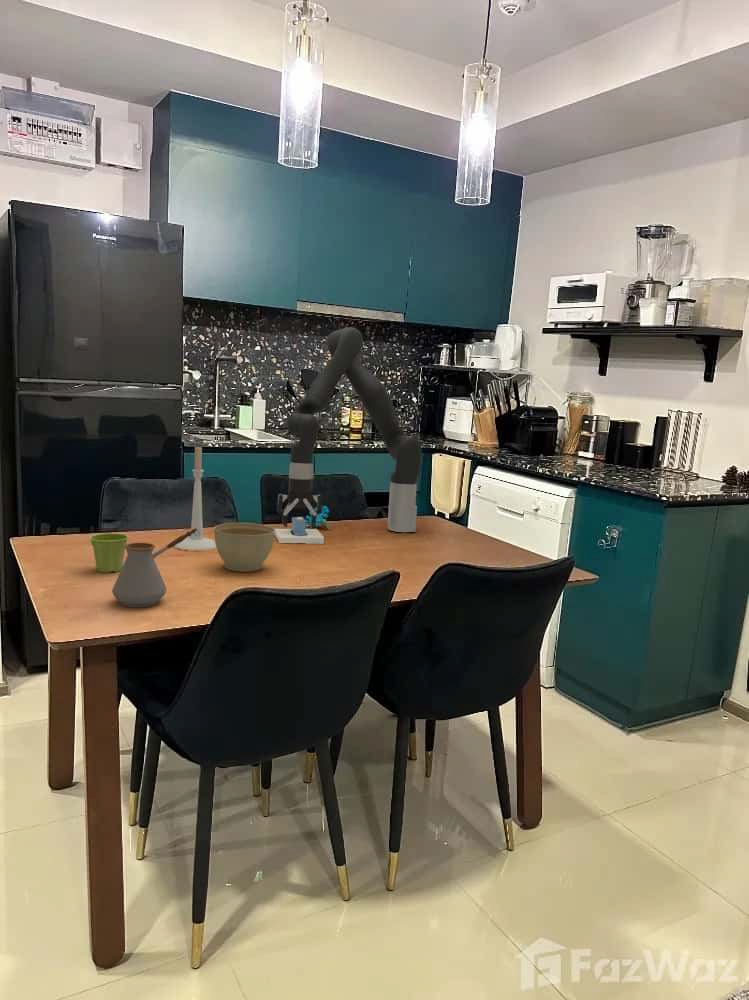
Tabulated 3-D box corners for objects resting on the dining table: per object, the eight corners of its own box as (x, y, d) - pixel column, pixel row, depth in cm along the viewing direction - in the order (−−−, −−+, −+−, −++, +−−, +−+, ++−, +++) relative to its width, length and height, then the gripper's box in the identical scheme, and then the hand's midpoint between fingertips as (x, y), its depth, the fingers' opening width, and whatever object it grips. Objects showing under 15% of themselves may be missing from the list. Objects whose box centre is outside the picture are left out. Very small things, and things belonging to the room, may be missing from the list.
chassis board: (316, 535, 244) (316, 529, 244) (323, 543, 232) (323, 537, 231) (274, 534, 240) (274, 528, 240) (279, 543, 228) (279, 537, 228)
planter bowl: (248, 579, 186) (249, 537, 185) (200, 568, 194) (200, 528, 192) (285, 567, 200) (287, 528, 199) (239, 557, 208) (240, 520, 206)
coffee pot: (130, 613, 155) (131, 544, 153) (101, 601, 162) (101, 534, 160) (212, 595, 172) (213, 532, 169) (182, 584, 179) (183, 524, 176)
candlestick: (217, 542, 226) (219, 444, 221) (219, 551, 214) (222, 448, 209) (174, 542, 222) (175, 443, 218) (174, 552, 210) (175, 447, 205)
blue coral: (299, 520, 259) (319, 500, 260) (308, 530, 262) (328, 511, 264) (311, 530, 250) (332, 510, 251) (321, 541, 253) (342, 521, 254)
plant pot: (82, 572, 184) (82, 538, 182) (101, 564, 193) (101, 531, 191) (117, 576, 182) (117, 542, 181) (134, 567, 192) (135, 534, 190)
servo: (301, 535, 241) (302, 514, 240) (305, 542, 233) (306, 519, 231) (290, 535, 240) (291, 513, 239) (294, 542, 232) (295, 519, 231)
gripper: (321, 475, 239) (318, 524, 241) (277, 474, 235) (275, 524, 238) (325, 478, 231) (322, 529, 234) (279, 477, 228) (278, 529, 230)
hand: (298, 526), depth 236 cm, fingers open, 8 cm apart
